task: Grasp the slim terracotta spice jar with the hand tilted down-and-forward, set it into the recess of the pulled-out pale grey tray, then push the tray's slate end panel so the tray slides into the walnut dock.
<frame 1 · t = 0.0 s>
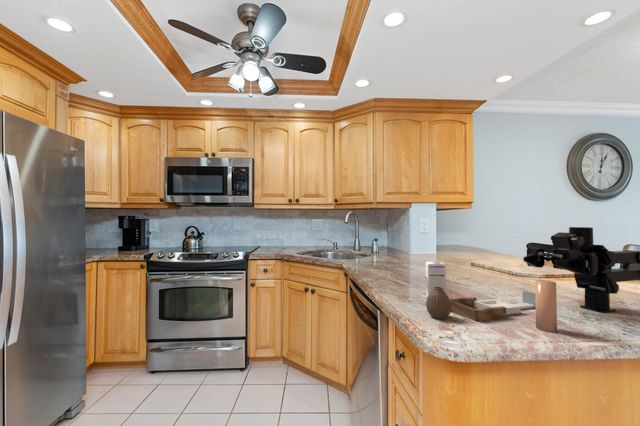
hand: (538, 261, 86), 17 cm above the counter, tool horizontal, fingers open, 9 cm apart
syrup box: (435, 306, 96), on the counter
dock: (476, 312, 89), on the counter
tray: (509, 301, 93), point 2 cm above the counter, slide at 8.0 cm
vase: (438, 317, 85), on the counter
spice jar: (546, 329, 75), on the counter
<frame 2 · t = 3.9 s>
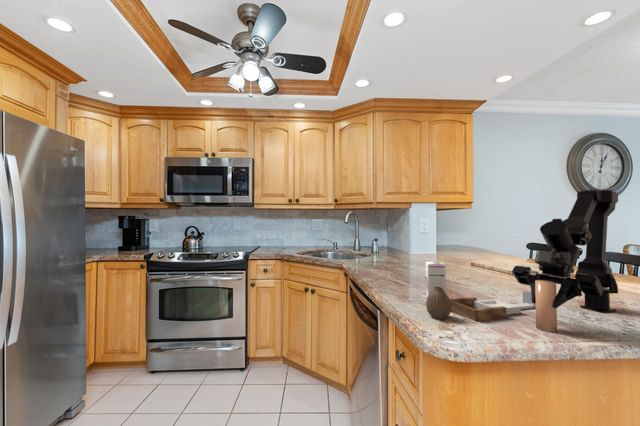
hand: (543, 304, 75), 7 cm above the counter, tool tilted 45°, fingers closed on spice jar, 4 cm apart
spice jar: (546, 329, 75), on the counter, touching gripper
everything else where it was.
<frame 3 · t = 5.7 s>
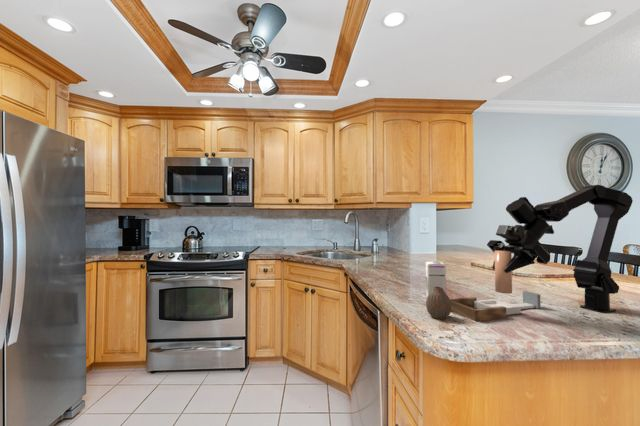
hand: (499, 270, 88), 13 cm above the counter, tool tilted 45°, fingers closed on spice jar, 4 cm apart
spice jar: (503, 291, 88), point 7 cm above the counter, touching gripper
everything else where it was.
when the fingers open (9 cm above the counter, at t = 7.4 s): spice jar stays where it is, resting on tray.
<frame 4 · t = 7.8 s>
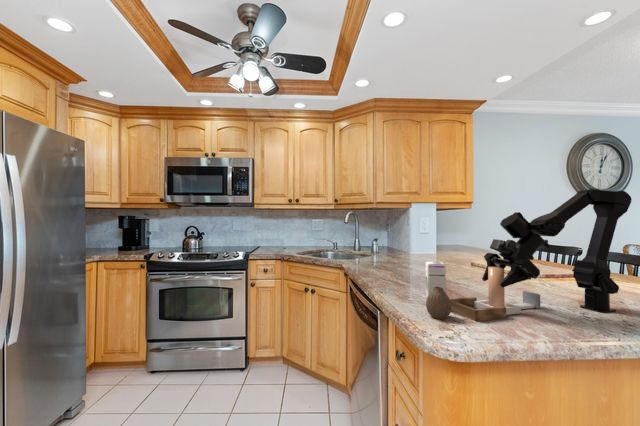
hand: (491, 283, 91), 9 cm above the counter, tool tilted 45°, fingers open, 9 cm apart
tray: (509, 301, 93), point 2 cm above the counter, slide at 8.0 cm, touching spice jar
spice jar: (496, 306, 91), point 1 cm above the counter, touching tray
everything else where it was.
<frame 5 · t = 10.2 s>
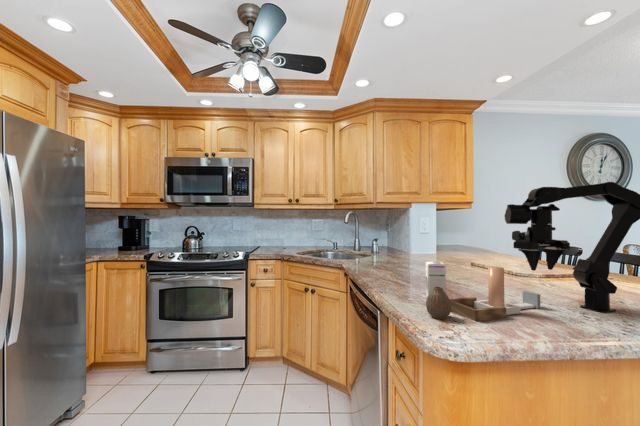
hand: (541, 270, 97), 12 cm above the counter, tool pointing down, fingers open, 7 cm apart
nothing on the counter moved.
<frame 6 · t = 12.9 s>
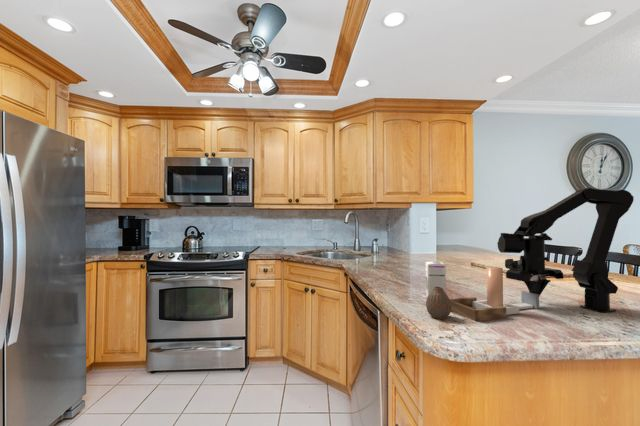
hand: (534, 299, 96), 2 cm above the counter, tool pointing down, fingers closed
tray: (508, 301, 92), point 2 cm above the counter, slide at 7.4 cm, touching gripper, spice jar
everything else where it was.
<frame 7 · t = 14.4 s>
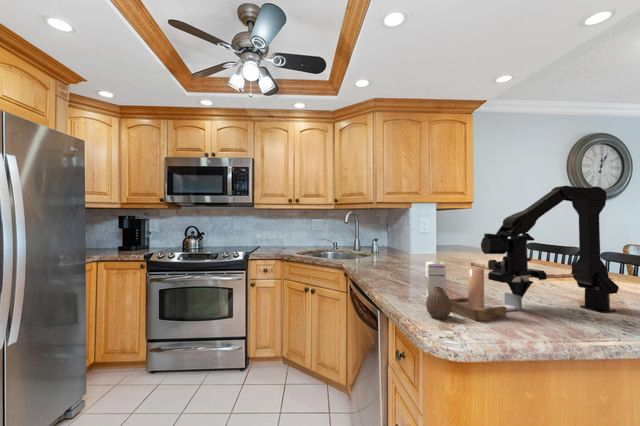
hand: (517, 301, 94), 2 cm above the counter, tool pointing down, fingers closed
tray: (490, 303, 90), point 2 cm above the counter, slide at -0.1 cm, touching gripper, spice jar
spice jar: (476, 309, 89), point 1 cm above the counter, touching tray
everything else where it was.
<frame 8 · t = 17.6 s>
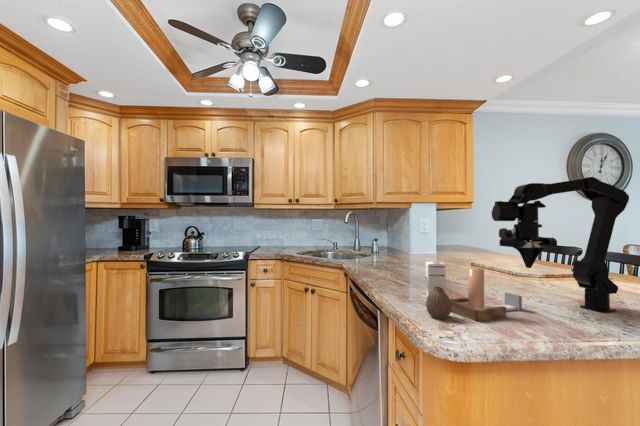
hand: (528, 267, 95), 13 cm above the counter, tool pointing down, fingers closed
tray: (490, 303, 90), point 2 cm above the counter, slide at 0.0 cm, touching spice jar
everything else where it was.
at the end: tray slide at 0.0 cm; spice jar inside the target area (0.5 cm from its centre), point 1.1 cm above the counter; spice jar tilted 0° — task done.
